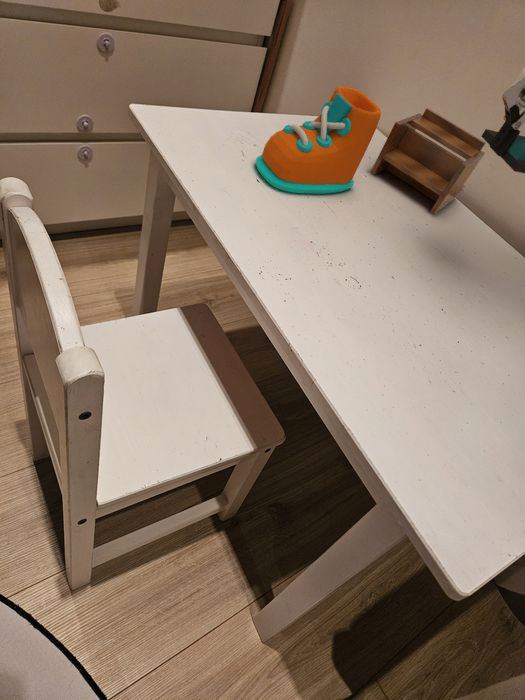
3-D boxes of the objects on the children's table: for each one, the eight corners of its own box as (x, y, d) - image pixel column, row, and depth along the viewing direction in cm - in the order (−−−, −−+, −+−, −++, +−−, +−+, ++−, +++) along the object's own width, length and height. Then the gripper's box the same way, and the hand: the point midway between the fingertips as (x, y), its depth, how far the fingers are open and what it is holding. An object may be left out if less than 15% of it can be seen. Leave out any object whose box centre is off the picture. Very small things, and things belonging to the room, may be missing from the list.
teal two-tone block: (480, 136, 73) (493, 117, 71) (502, 140, 74) (514, 122, 72) (514, 171, 67) (528, 152, 65) (536, 175, 69) (551, 157, 66)
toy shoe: (244, 158, 86) (268, 72, 75) (327, 160, 95) (359, 84, 84) (273, 197, 80) (304, 111, 69) (359, 195, 89) (397, 119, 78)
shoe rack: (453, 200, 101) (490, 145, 92) (432, 215, 93) (471, 158, 84) (393, 161, 105) (423, 105, 95) (369, 173, 97) (399, 114, 88)
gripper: (631, 23, 62) (534, 150, 76) (540, -12, 57) (453, 132, 70) (671, 45, 58) (561, 176, 71) (578, 9, 52) (477, 159, 65)
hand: (509, 153), depth 70 cm, fingers closed on teal two-tone block, 4 cm apart
